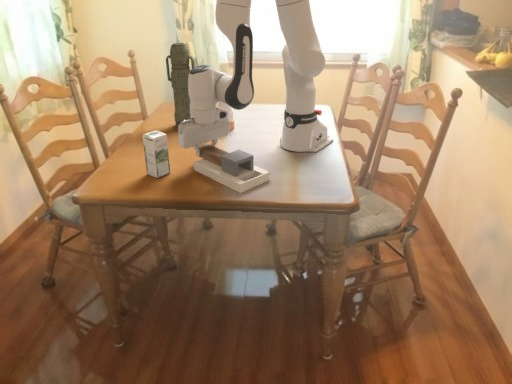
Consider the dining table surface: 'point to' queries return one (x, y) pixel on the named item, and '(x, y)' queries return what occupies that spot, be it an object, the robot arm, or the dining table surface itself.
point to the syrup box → (156, 153)
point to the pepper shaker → (230, 113)
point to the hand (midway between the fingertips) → (205, 153)
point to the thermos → (180, 80)
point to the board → (234, 171)
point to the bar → (211, 153)
